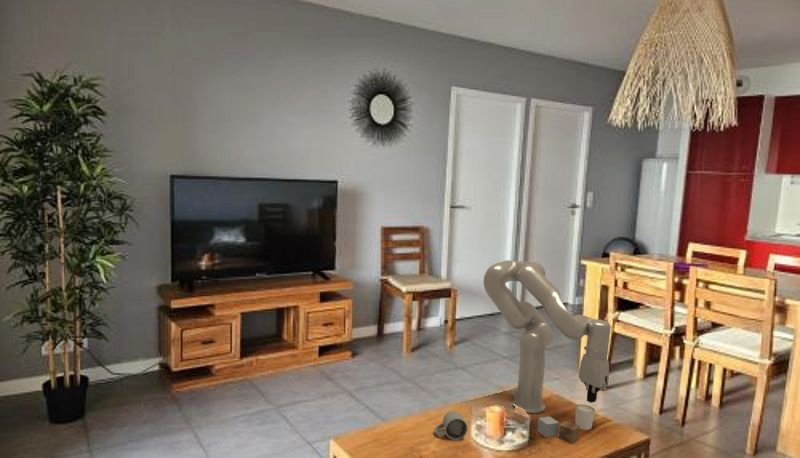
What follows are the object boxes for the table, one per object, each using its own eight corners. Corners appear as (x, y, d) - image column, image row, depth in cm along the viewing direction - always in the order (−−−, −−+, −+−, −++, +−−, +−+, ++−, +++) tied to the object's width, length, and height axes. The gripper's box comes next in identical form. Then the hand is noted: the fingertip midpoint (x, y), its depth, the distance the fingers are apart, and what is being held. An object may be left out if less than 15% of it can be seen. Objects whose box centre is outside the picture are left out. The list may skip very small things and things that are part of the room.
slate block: (537, 431, 193) (538, 418, 193) (548, 429, 195) (550, 416, 195) (546, 438, 189) (547, 424, 188) (557, 436, 191) (559, 422, 190)
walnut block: (558, 438, 189) (559, 424, 188) (565, 433, 193) (566, 420, 192) (572, 443, 186) (573, 430, 185) (578, 439, 189) (579, 425, 189)
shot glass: (597, 429, 197) (599, 411, 196) (582, 431, 195) (584, 413, 194) (584, 420, 204) (586, 403, 203) (569, 423, 201) (571, 405, 200)
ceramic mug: (461, 428, 192) (462, 408, 191) (467, 440, 184) (468, 418, 183) (432, 429, 191) (433, 408, 190) (436, 440, 183) (437, 419, 182)
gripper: (573, 348, 202) (568, 395, 205) (607, 362, 190) (601, 411, 192) (586, 346, 206) (581, 391, 209) (620, 359, 194) (615, 407, 196)
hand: (591, 401), depth 200 cm, fingers closed
